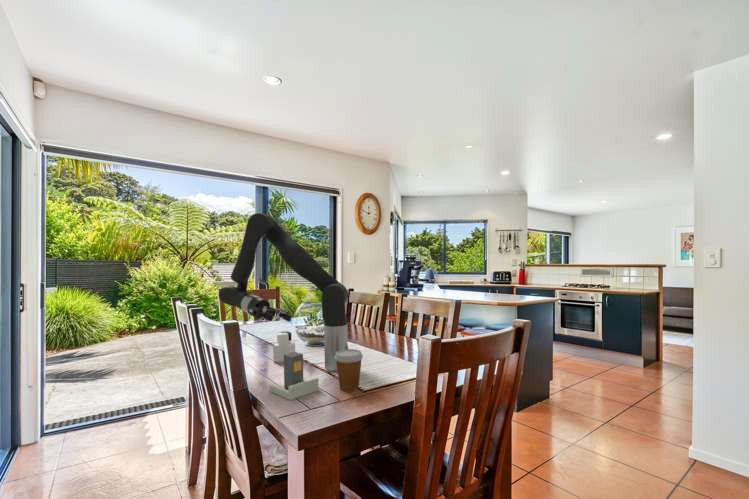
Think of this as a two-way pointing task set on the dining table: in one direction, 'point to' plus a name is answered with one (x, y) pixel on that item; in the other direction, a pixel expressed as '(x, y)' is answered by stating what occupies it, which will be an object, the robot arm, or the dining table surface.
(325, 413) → the dining table surface
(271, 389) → the mount
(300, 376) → the tall gray pillar block
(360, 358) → the disposable coffee cup
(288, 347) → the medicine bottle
